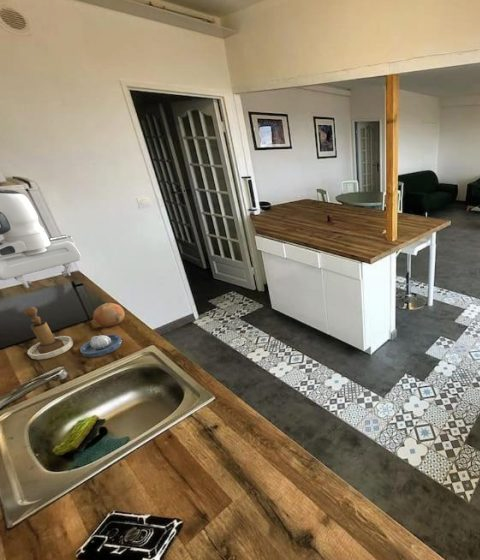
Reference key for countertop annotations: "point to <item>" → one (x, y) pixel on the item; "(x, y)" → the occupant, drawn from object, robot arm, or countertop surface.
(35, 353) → the cream saucer
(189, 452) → the countertop surface
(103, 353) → the slate saucer
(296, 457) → the countertop surface
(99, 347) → the garlic
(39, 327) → the mortar and pestle
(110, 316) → the onion
